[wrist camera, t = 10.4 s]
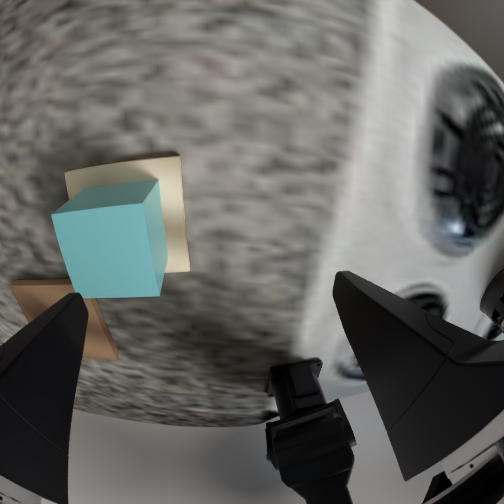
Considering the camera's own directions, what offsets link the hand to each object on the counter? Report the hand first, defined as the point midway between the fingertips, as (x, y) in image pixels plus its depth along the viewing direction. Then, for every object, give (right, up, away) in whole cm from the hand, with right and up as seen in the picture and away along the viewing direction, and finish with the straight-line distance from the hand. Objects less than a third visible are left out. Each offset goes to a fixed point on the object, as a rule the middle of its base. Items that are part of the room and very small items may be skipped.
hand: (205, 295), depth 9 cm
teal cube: (-8, +4, +10) cm, 13 cm away
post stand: (-18, -6, +14) cm, 23 cm away
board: (-8, +4, +10) cm, 14 cm away
